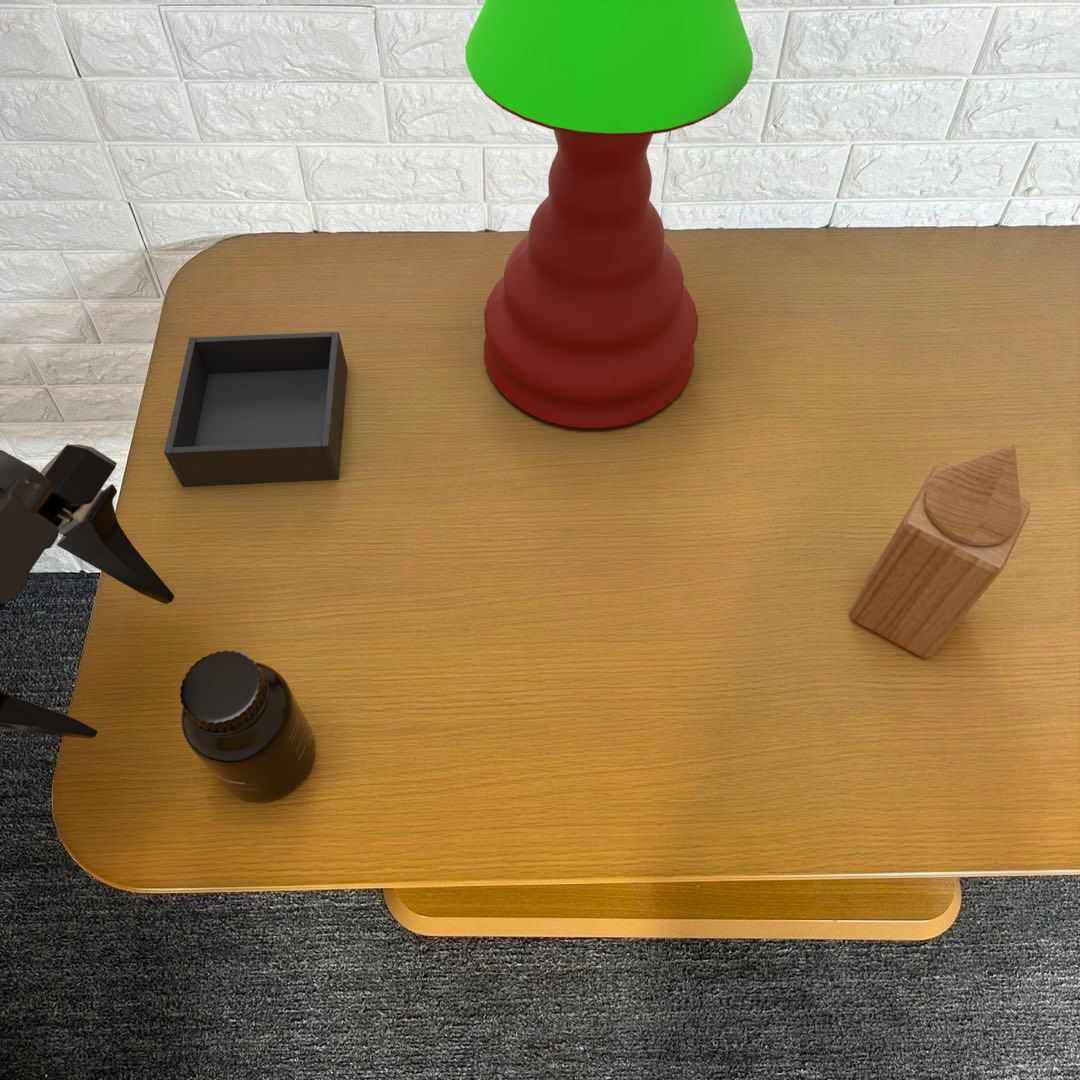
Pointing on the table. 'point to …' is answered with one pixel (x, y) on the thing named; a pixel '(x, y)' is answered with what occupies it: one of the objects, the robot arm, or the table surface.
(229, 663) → the supplement bottle
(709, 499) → the table surface
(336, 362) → the bin
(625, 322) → the table lamp
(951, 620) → the decorative item
